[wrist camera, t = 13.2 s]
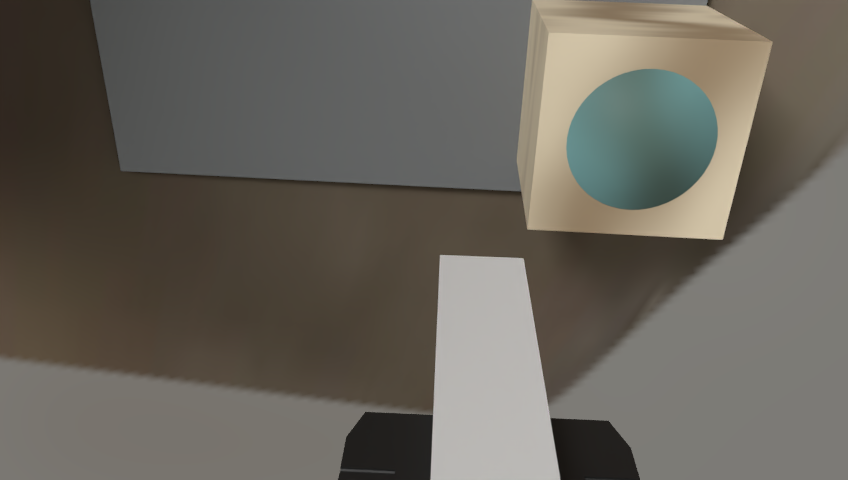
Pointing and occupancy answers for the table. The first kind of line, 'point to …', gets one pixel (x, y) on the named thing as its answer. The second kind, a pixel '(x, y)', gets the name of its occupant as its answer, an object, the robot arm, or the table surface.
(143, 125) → the rubber mat
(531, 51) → the beech block
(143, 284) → the table surface
